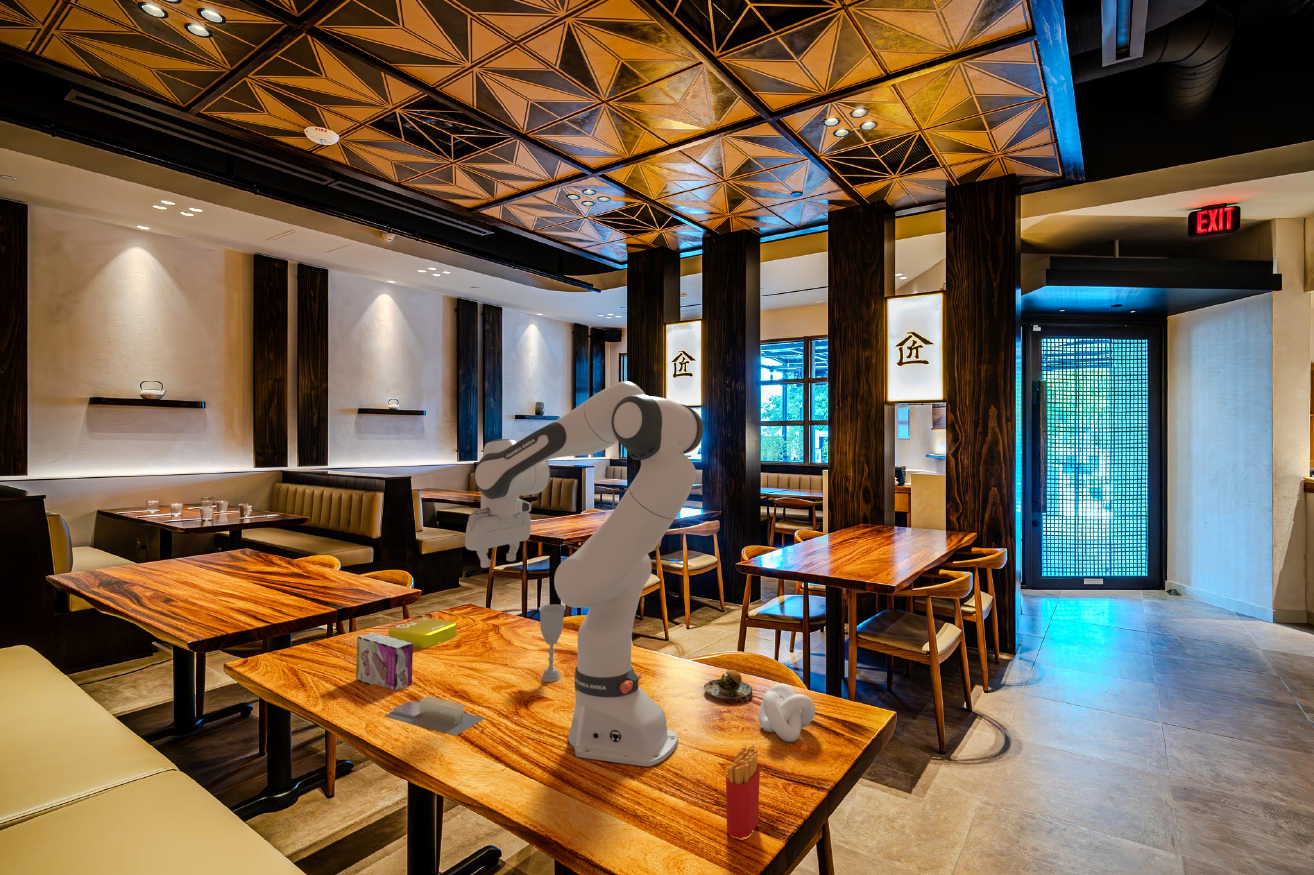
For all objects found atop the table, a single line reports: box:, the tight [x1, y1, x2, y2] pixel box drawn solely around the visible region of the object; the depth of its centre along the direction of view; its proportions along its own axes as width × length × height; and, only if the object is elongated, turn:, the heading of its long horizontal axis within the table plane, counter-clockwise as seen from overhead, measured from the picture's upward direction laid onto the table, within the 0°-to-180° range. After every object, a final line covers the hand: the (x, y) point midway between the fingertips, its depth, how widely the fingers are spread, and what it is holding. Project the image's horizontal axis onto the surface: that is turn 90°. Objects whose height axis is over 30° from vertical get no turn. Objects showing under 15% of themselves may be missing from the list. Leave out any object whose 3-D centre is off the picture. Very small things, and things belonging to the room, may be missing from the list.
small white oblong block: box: [390, 695, 464, 726], centre depth 134 cm, size 17×5×4 cm, turn 65°
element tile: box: [388, 617, 457, 650], centre depth 190 cm, size 15×15×5 cm
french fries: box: [725, 744, 761, 838], centre depth 98 cm, size 8×4×12 cm, turn 151°
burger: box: [703, 665, 753, 705], centre depth 151 cm, size 12×12×8 cm
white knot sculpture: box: [758, 683, 816, 743], centre depth 130 cm, size 11×12×9 cm
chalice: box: [538, 603, 566, 683], centre depth 159 cm, size 7×7×18 cm
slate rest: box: [384, 700, 486, 737], centre depth 134 cm, size 20×9×1 cm, turn 65°
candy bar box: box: [355, 631, 414, 692], centre depth 154 cm, size 11×5×16 cm
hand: (498, 563), depth 149 cm, fingers open, 8 cm apart
